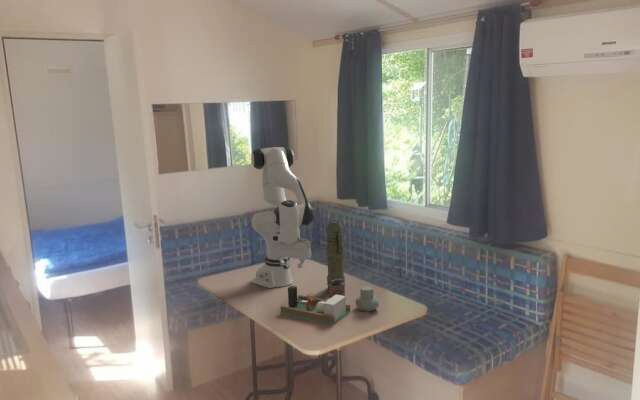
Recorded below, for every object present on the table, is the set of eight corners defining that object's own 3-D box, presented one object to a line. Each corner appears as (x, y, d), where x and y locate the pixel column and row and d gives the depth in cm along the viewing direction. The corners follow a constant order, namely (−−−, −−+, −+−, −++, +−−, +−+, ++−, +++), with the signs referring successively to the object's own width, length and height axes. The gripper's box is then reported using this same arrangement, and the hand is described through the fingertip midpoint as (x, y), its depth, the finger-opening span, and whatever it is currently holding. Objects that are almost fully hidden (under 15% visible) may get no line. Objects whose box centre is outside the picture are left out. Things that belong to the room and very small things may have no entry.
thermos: (337, 284, 268) (335, 218, 261) (349, 290, 258) (348, 222, 251) (322, 287, 263) (320, 221, 257) (335, 294, 253) (333, 225, 247)
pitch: (280, 314, 231) (280, 297, 229) (299, 302, 244) (299, 286, 243) (333, 325, 217) (333, 307, 216) (350, 311, 231) (350, 294, 230)
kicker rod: (287, 307, 235) (286, 288, 234) (293, 303, 239) (292, 285, 238) (309, 311, 229) (308, 292, 228) (315, 307, 234) (314, 288, 232)
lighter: (330, 301, 244) (329, 281, 242) (328, 299, 247) (327, 279, 245) (346, 299, 246) (345, 279, 244) (344, 296, 249) (343, 277, 248)
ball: (314, 313, 228) (313, 302, 227) (319, 309, 232) (319, 298, 232) (324, 315, 226) (323, 304, 225) (329, 311, 230) (329, 300, 229)
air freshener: (353, 306, 237) (353, 285, 235) (369, 303, 240) (369, 283, 238) (364, 315, 227) (363, 293, 225) (380, 311, 230) (380, 290, 228)
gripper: (313, 237, 228) (314, 267, 231) (275, 233, 238) (277, 262, 241) (306, 240, 223) (307, 271, 225) (267, 236, 233) (269, 265, 235)
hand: (291, 266), depth 233 cm, fingers open, 8 cm apart
